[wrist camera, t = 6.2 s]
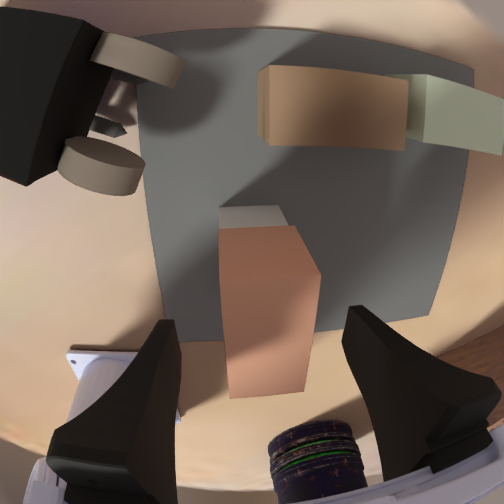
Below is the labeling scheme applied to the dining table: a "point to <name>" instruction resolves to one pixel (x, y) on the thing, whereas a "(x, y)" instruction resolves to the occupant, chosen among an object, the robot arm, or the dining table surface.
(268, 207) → the pale grey brick
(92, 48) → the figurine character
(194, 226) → the felt mat
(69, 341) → the dining table surface
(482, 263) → the dining table surface
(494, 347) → the tissue box cover
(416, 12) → the dining table surface
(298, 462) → the storage jar
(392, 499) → the robot arm
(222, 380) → the dining table surface
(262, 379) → the terracotta brick
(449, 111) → the sage brick
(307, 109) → the walnut brick
